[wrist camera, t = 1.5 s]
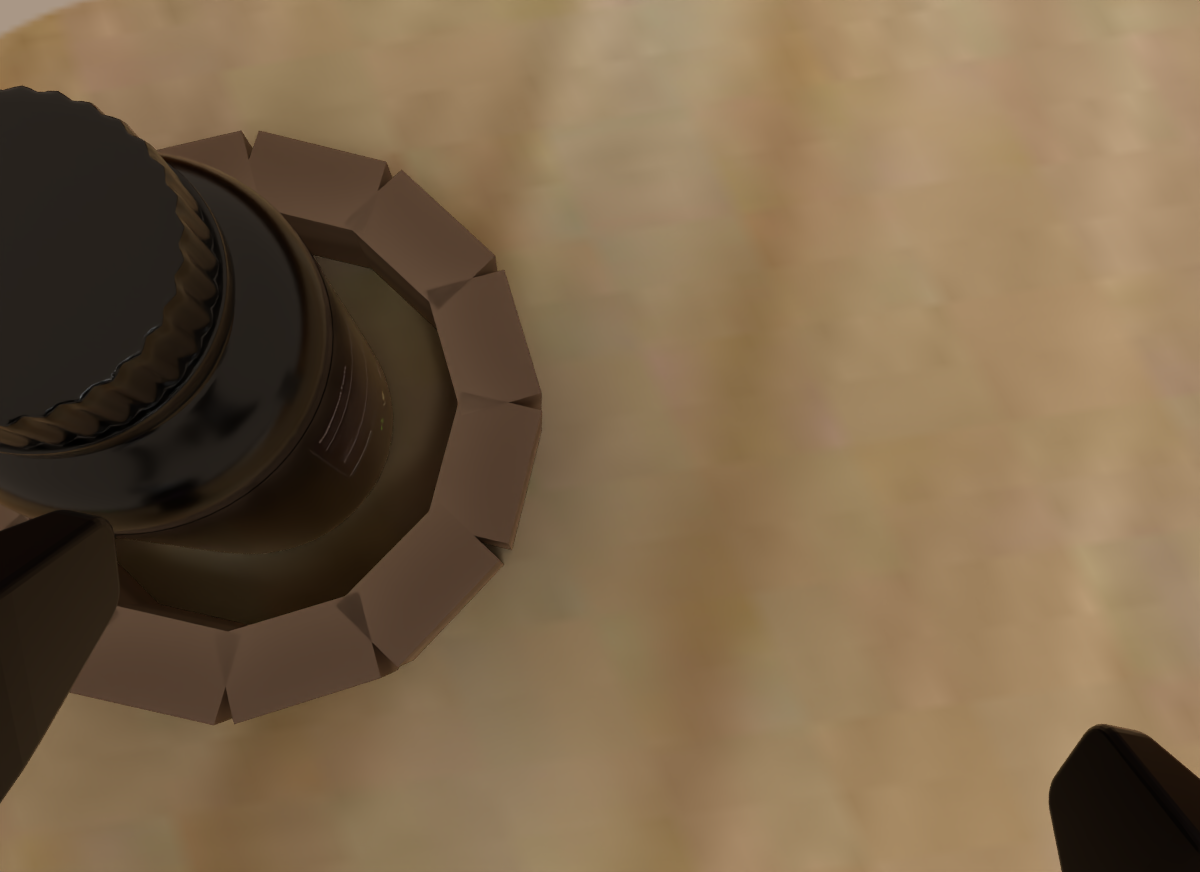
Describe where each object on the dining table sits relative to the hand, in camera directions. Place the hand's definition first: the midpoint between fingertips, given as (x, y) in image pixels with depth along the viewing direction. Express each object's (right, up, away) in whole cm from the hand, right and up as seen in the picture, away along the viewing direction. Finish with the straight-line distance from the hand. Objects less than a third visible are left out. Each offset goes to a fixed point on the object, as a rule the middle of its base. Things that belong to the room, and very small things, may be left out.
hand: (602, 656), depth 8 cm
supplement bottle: (-9, +2, +15) cm, 18 cm away
